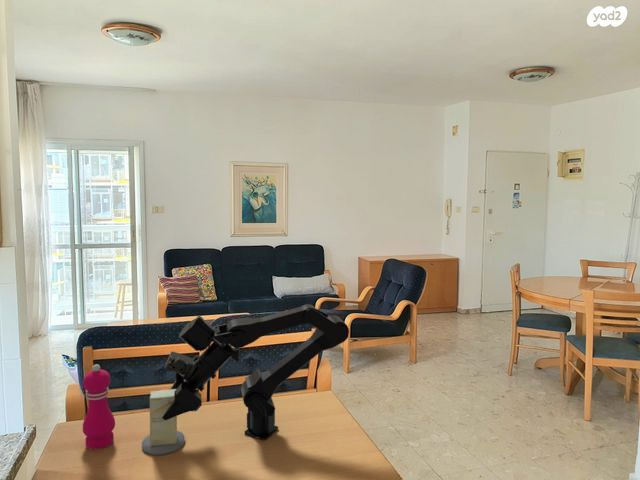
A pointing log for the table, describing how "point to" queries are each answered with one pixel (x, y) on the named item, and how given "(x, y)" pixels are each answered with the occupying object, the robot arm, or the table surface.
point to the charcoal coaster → (163, 446)
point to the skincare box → (159, 427)
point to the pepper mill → (98, 410)
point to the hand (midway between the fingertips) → (164, 409)
